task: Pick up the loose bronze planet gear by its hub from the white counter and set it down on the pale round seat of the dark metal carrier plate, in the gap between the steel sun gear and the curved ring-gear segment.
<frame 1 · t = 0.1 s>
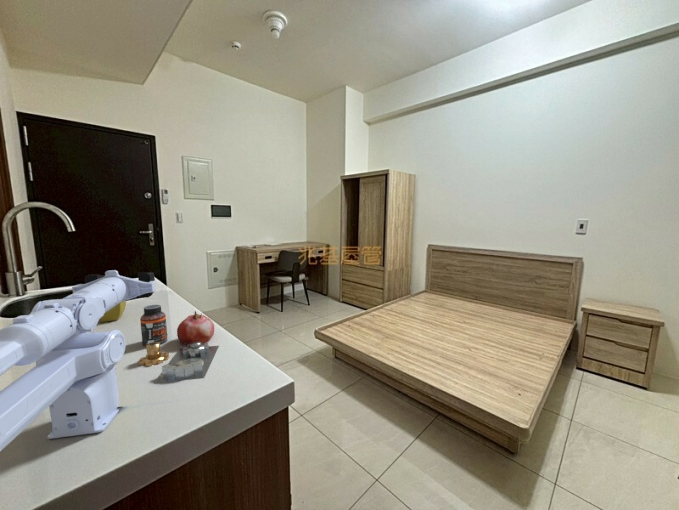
hand: (134, 277, 68), 22 cm above the counter, tool horizontal, fingers open, 7 cm apart
planet gear: (154, 363, 71), on the counter
fruit: (196, 344, 82), on the counter
ring gear segment: (188, 370, 68), resting on carrier plate
sun gear: (196, 352, 74), resting on carrier plate
carrier plate: (190, 365, 70), on the counter
supplement bottle: (155, 346, 81), on the counter
flower pot: (111, 319, 101), on the counter
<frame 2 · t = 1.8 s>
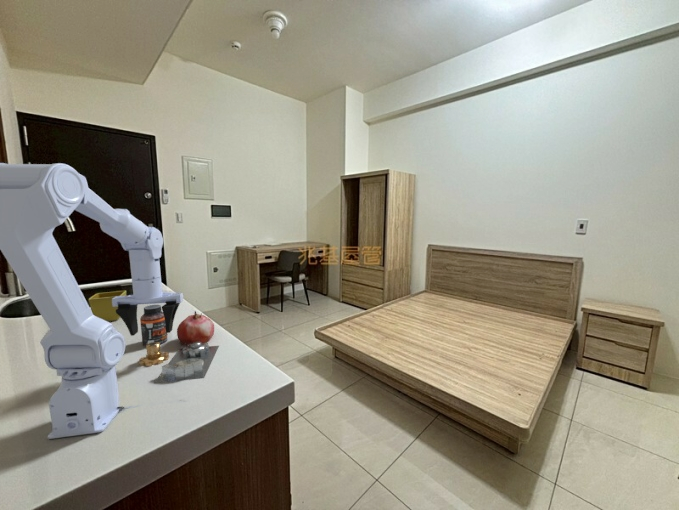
hand: (152, 332, 70), 8 cm above the counter, tool pointing down, fingers open, 7 cm apart
nothing on the counter moved.
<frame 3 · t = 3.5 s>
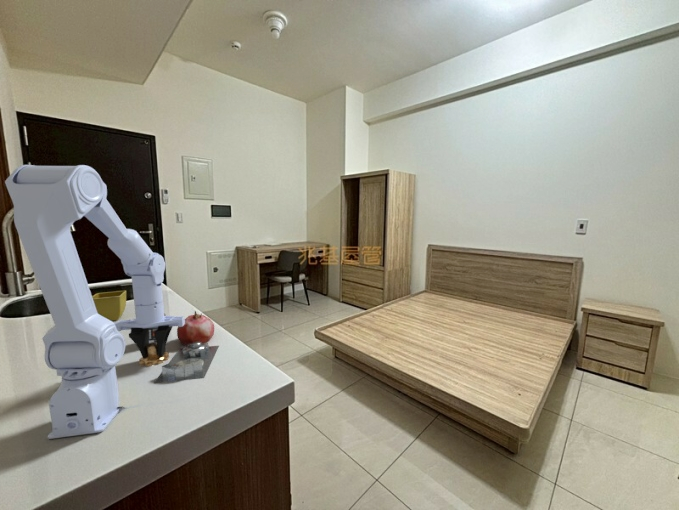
hand: (154, 355, 71), 2 cm above the counter, tool pointing down, fingers closed on planet gear, 3 cm apart
planet gear: (154, 363, 71), on the counter, touching gripper
everything else where it was.
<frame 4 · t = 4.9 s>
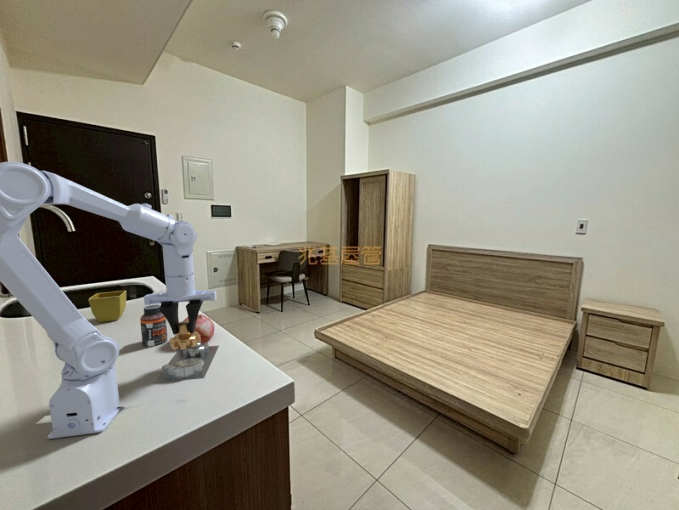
hand: (184, 332, 67), 9 cm above the counter, tool pointing down, fingers closed on planet gear, 3 cm apart
planet gear: (185, 343, 67), point 7 cm above the counter, touching gripper
everything else where it was.
when the fingers open (4 cm above the counter, at t = 6.6 s): planet gear stays where it is, resting on carrier plate.
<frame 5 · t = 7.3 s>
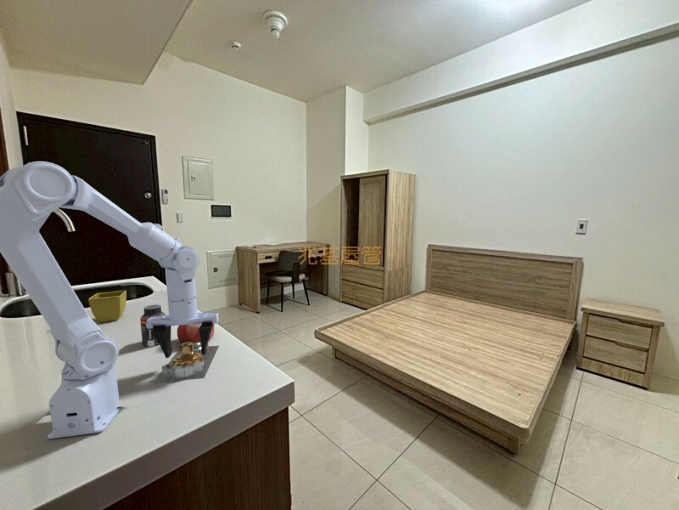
hand: (186, 354, 67), 4 cm above the counter, tool pointing down, fingers open, 7 cm apart
planet gear: (188, 364, 68), point 1 cm above the counter, touching carrier plate
everything else where it was.
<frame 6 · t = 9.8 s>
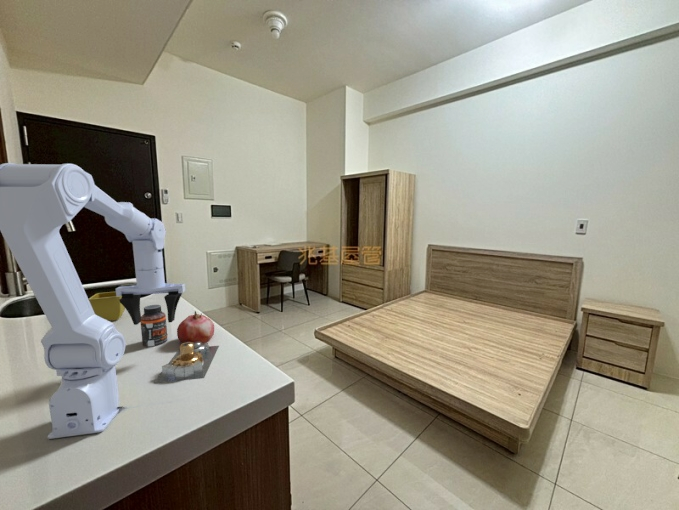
hand: (154, 322, 71), 10 cm above the counter, tool pointing down, fingers open, 7 cm apart
nothing on the counter moved.
at the end: planet gear 0.3 cm from the target spot, point 1.3 cm above the counter; planet gear tilted 0°; the gripper is holding nothing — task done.
